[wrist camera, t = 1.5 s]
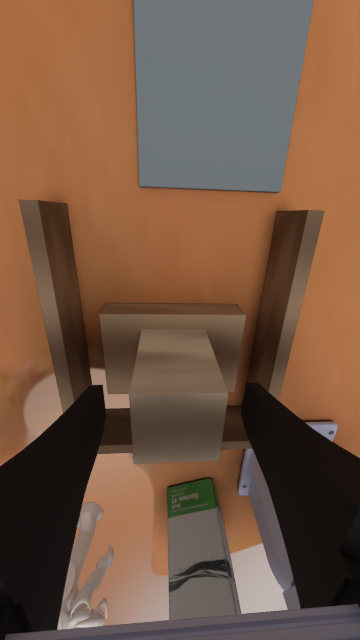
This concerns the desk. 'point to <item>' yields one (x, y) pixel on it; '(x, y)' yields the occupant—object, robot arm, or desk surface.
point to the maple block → (176, 398)
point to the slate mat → (217, 91)
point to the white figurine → (78, 600)
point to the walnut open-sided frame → (166, 318)
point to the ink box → (198, 554)
